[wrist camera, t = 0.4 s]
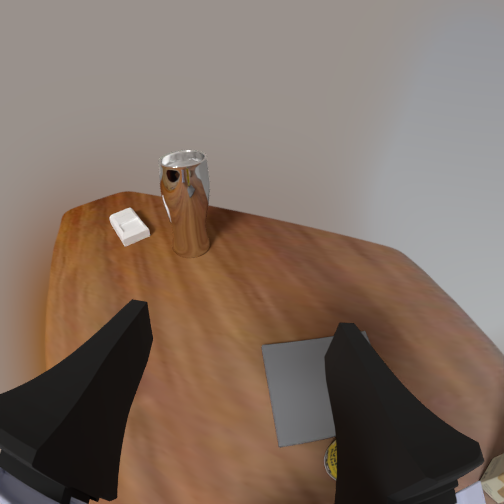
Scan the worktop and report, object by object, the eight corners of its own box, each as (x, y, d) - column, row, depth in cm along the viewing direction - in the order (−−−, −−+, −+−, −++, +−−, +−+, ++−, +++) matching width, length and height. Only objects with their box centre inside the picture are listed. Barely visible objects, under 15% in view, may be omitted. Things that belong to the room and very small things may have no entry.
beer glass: (220, 250, 44) (217, 159, 35) (179, 265, 41) (165, 172, 32) (202, 228, 49) (196, 146, 39) (164, 241, 46) (151, 156, 36)
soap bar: (133, 216, 52) (131, 204, 51) (150, 237, 47) (148, 224, 46) (111, 225, 50) (108, 213, 48) (125, 248, 45) (121, 235, 43)
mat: (395, 417, 23) (398, 416, 23) (279, 447, 22) (279, 446, 22) (363, 333, 33) (364, 330, 32) (261, 347, 31) (261, 345, 31)
